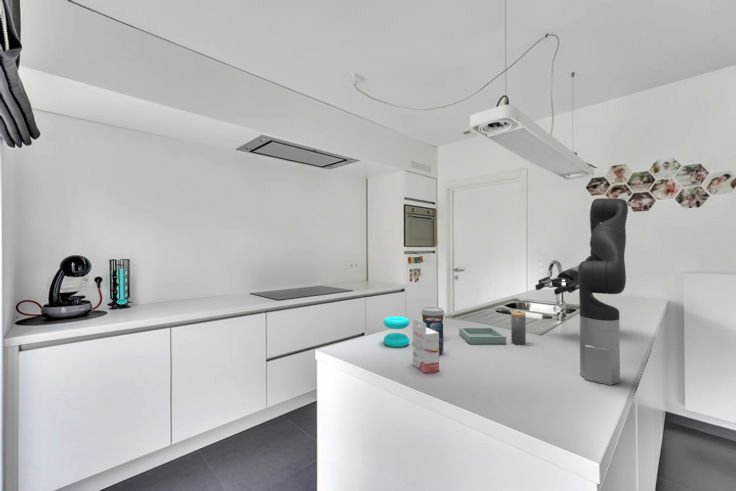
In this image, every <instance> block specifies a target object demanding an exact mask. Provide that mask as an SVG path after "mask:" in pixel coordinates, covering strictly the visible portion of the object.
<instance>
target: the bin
mask: <svg viewBox="0 0 736 491" xmlns="http://www.w3.org/2000/svg"><path fill="white" fill-rule="evenodd" d="M458 329H459V332H458V334H459V336H460V337H461V338H462V339H463V340H464V341H465V342H466V343H467V344H468V345H470V346H473V345H474V346H475V345H476V346H480V345H481V346H482V345H483V346H484V345H486V346H487V345H488V346H489V345H490V346H493V345H495V346H496V345H497V346H498V345H499V346H500V345H503V346H504V345H507V336H506V335H504V334H503V333H501V332H499V331H498V330H496V329H495V328H493V327H459V328H458Z"/></svg>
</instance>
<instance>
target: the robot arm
mask: <svg viewBox="0 0 736 491" xmlns="http://www.w3.org/2000/svg"><path fill="white" fill-rule="evenodd" d="M628 205H629V204H628V202H627V201H626V200H625V199H623V198H607V197H606V198H602V197H601V198H595V199H593V201H592V203H591V206H590V208H589V209H590V211H589V223H590V224H589V226H590V234H591V235H590V242H589V247H590V252H589V253H590V255H589V256H588V257H587V258H586V259H585V260H584V261H581V262H580V263H579V264H578V265H576V266H574V267H573V266H572V267H570V268H567V269H566V270H564V271H562V272H560V273H558V275H557V276H556V277H553V278H551V276H546V277H544V278H540V279H538V283H537V284H535V291H540V290H542V289H545V288H548V289H551V288H553V290H554V295H560V294H562V293H566V292H568V294H569V293H570V294H571V293H574V292H575V291H577V290H578V293H579V374H580V376H581V377H583V378H584V380H586V381H590V382H594V383H601V384H604V385H609V386H613V384H619V383H620V382H621V362H620V361H621V354H620V352H621V350H620V349H621V348H620V347H621V346H620V344H621V343H620V342H621V340H620V339H621V338H620V326H621V325H620V310H619V309H618V308H617V307H615V306H613V305H609V304H607V303H604V302H602V301H601V300H599V299H598V298H596V297H595V296H594V294H603V295H604V294H605V295H619V294H621V293H623V291H624V290H625V288H626V284H627V275H626V264H625V262H626V261H625V253H626V244H627V241H626V240H627V235H626V234H627V233H626V230H627V228H626V223H627V218H628V213H629V212H628V211H629V206H628Z"/></svg>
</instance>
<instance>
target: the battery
mask: <svg viewBox="0 0 736 491" xmlns="http://www.w3.org/2000/svg"><path fill="white" fill-rule="evenodd" d="M510 313H511V314H510V318H511V320H510V322H511V323H510V326H511V328H510V329H511V330H510V331H511V341H510V342H511V344H513V345H515V346H525V345H527V344H526V343H527V342H526V340H527V339H526V336H527V334H526V332H527V331H526V328H527V326H526V312H524V311H521V310H520V309H516V310H512V311H511V312H510Z"/></svg>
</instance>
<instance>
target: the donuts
mask: <svg viewBox="0 0 736 491" xmlns="http://www.w3.org/2000/svg"><path fill="white" fill-rule="evenodd" d="M382 322H383V325H384V326H385V327H386V328H387V329H389V330H390V329H391V330H403V329H405V328H407V327H408V326H409V325H410V319H409V318H407V317H405V316H398V315H395V316H386V317H385V318H384V319H383V321H382ZM383 343H384V344H385V346H388V347H392V348H402V347H406V346H408V345H409V343H410V338H409V336H407V335H406V334H403V333H400V332H393V333H388V334H385V336H384V337H383Z"/></svg>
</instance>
